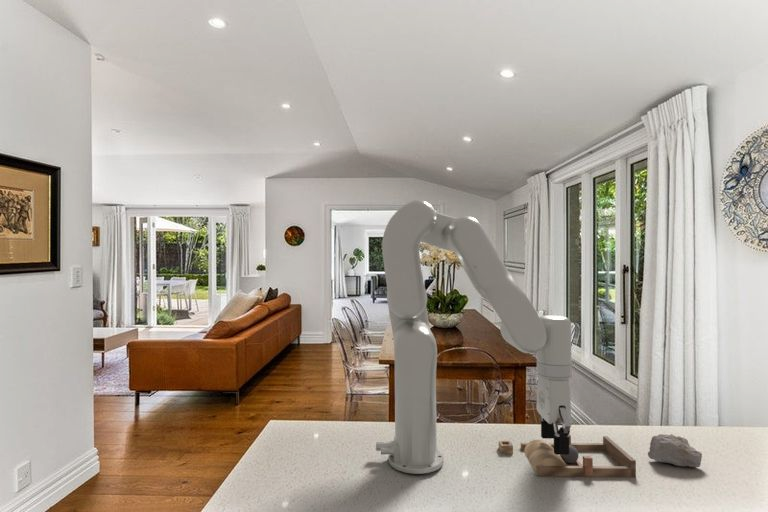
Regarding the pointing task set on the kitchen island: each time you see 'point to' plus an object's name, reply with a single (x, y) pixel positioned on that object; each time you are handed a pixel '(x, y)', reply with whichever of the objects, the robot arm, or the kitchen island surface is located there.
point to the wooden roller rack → (553, 464)
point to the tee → (505, 447)
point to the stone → (674, 451)
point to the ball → (570, 455)
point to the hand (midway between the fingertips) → (554, 445)
